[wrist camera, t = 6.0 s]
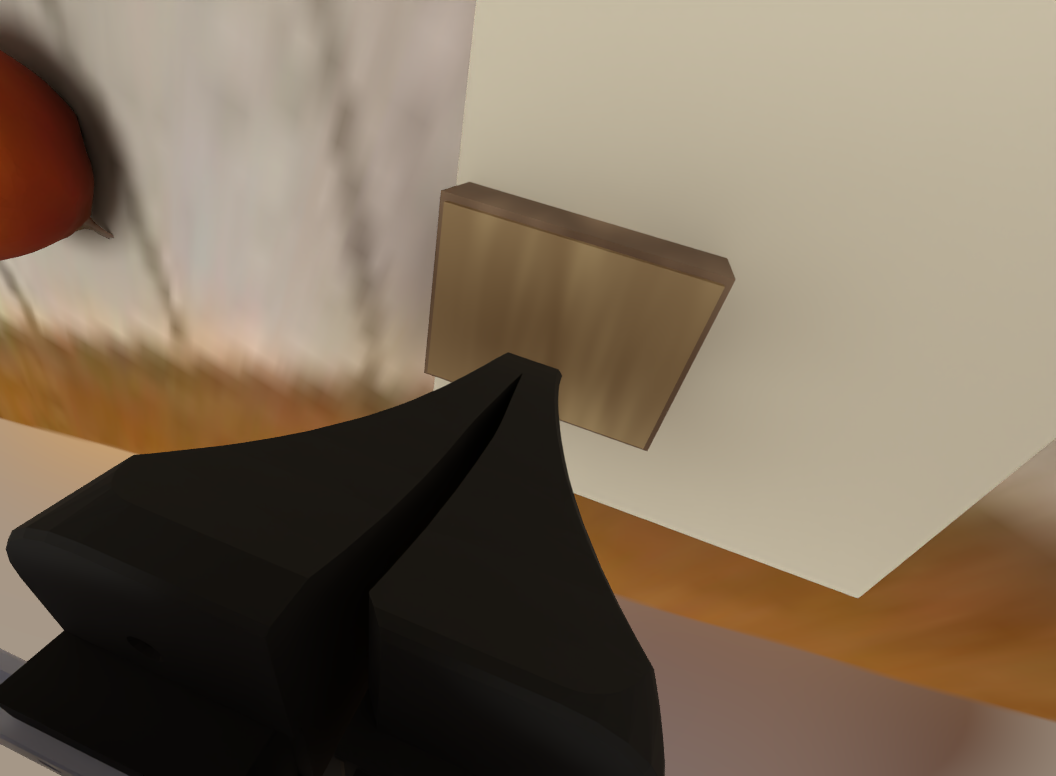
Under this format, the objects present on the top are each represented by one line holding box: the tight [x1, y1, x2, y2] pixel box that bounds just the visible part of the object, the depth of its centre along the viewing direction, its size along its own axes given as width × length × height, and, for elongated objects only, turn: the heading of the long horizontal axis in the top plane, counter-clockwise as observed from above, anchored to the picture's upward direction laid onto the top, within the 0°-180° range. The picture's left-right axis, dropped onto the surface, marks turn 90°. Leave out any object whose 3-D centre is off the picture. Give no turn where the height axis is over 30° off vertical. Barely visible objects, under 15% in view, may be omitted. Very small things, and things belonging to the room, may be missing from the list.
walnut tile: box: [424, 182, 736, 451], centre depth 14 cm, size 2×6×8 cm
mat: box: [433, 0, 1056, 598], centre depth 14 cm, size 19×18×1 cm
